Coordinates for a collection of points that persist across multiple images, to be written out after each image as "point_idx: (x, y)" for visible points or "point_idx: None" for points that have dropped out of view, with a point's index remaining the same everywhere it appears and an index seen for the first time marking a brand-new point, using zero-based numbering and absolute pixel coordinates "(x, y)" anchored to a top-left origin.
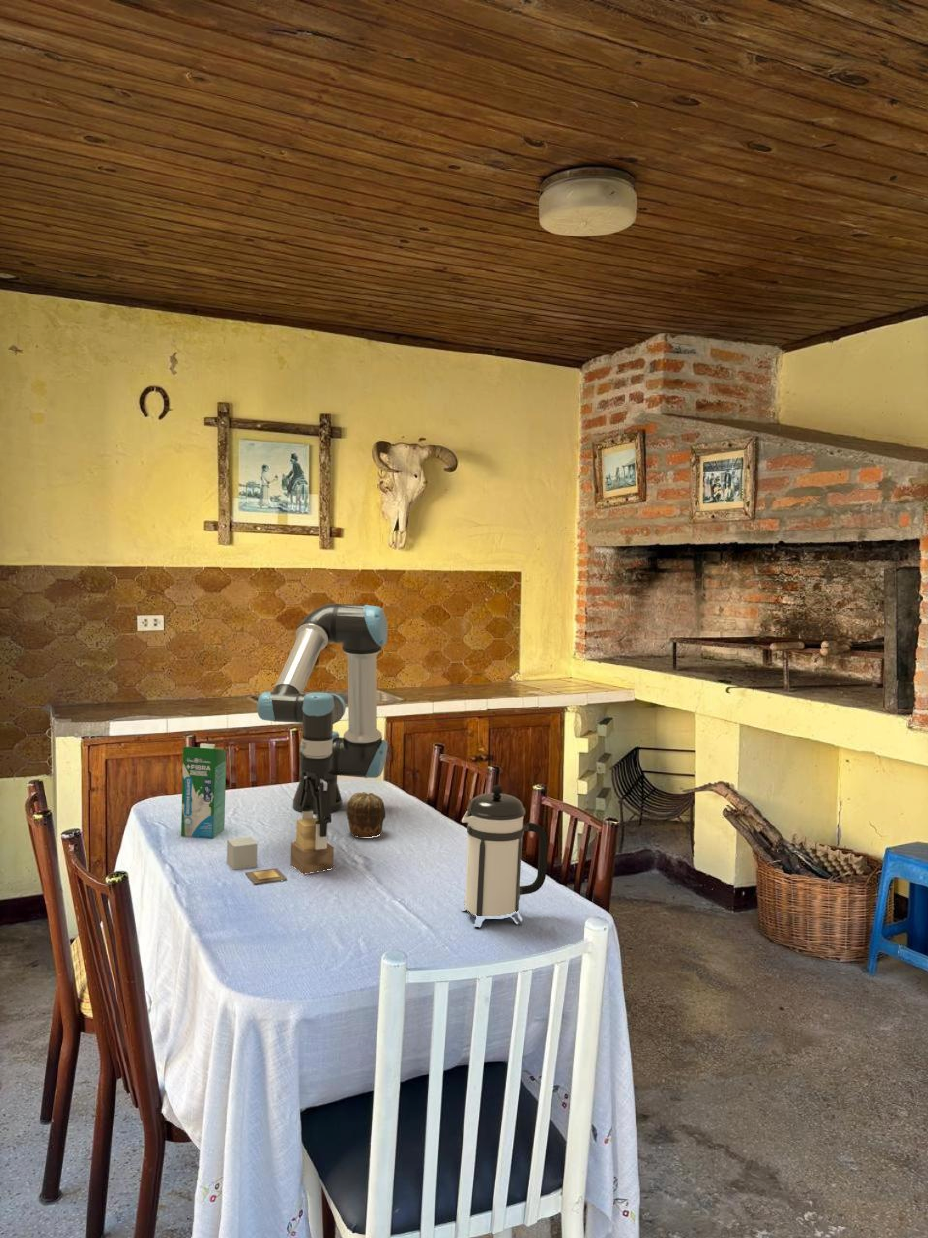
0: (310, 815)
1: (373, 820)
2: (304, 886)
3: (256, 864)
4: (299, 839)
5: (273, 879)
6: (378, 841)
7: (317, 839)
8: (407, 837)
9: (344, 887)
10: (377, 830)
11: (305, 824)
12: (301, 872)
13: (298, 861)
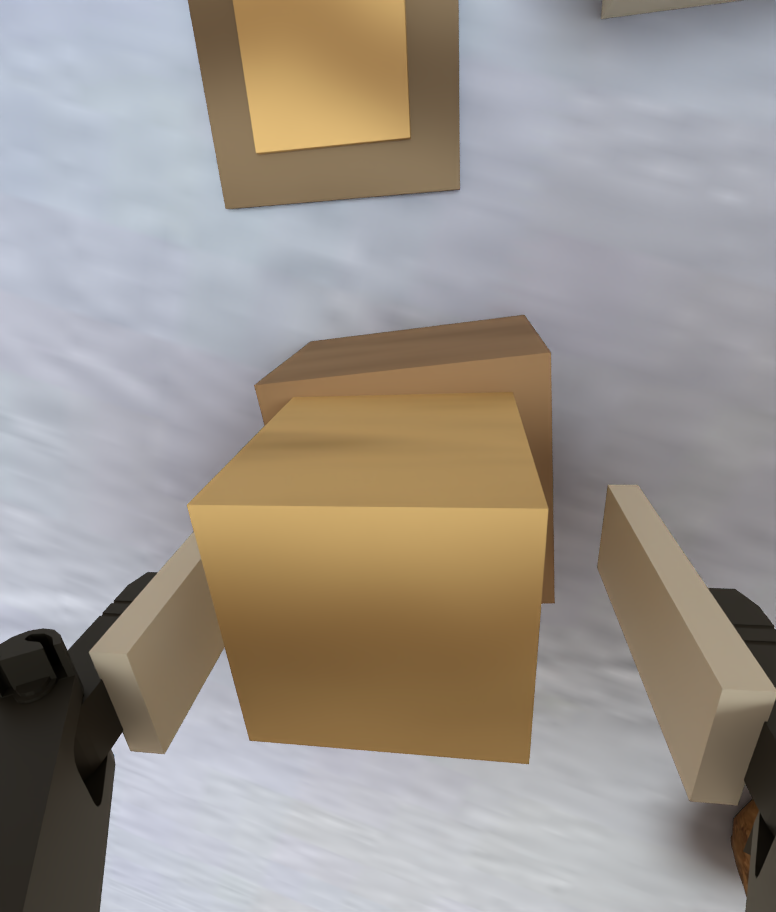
0: (674, 720)
1: None
2: (122, 293)
3: (608, 4)
4: (410, 415)
5: (229, 95)
6: (673, 822)
7: (194, 538)
8: (655, 909)
9: (94, 486)
10: (743, 883)
11: (274, 543)
12: (333, 340)
13: (379, 346)
